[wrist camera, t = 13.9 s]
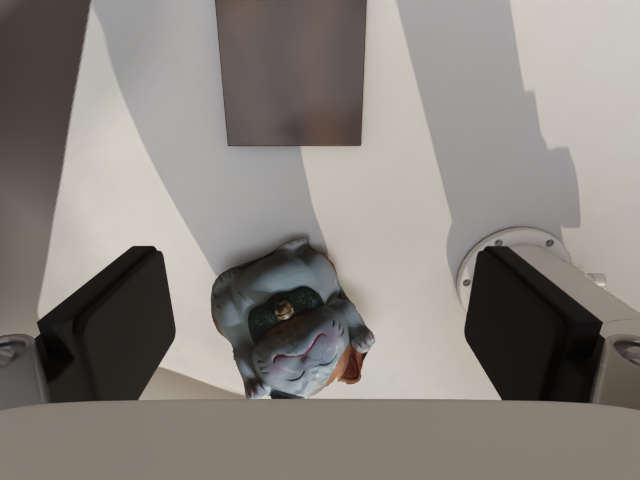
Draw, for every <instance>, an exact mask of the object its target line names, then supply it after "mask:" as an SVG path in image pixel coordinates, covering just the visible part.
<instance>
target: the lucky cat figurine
mask: <svg viewBox="0 0 640 480" xmlns="http://www.w3.org/2000/svg"><path fill="white" fill-rule="evenodd" d="M355 309H356V307H355V305H354V304H353V303H352V302H351V301H350V300H349V299H348V297H347V296H346V294H345V293H344V291H343V289H342V287H341V285H340V283H339V280H338V277H337V273H336V270H335V267H334V265H333V263H332V262H331V261H330V260H329V259H328V258H327V257H326V256H325V254H324V253H318V252H316V251H315V250H314V249H312V248H311V247H310V246H309V244H308V239H305V238H303V239H299V240H293V241H289V242H287V243H286V244H283V245H282V246H281V247H279V248H278V249H276V250H275V251H274V252H272V253H270V254H268V255H266V256H264V257H262V258H259V259H256V260H254V261H251V262H248V263H245V264H242V265H240V266H236V267H233V268H230V269H229V270H227V271H225V272H223V273H222V274H220V275H219V277H218V278H217V279H216V280H215V283H214V284H213V287H212V293H211V312H212V318H213V321H214V323H215V326H216V328H217V330H218V332H219V333H220V334H221V335H223V336H224V337H225V338H226V339H227V340H229V342H230V343H231V344H232V347H233V353H234V360H235V361H236V364H237V367H238V369H239V371H240V374H241V376H242V379H243V381H244V387H245V394H246V398H247V399H260V398H262V397H265V396H271V399H308V398H309V397H311V396H312V395H315V394H317V393H318V392H320V391H321V390H322V389H323V388H325V387H326V386H328V385H329V384H330V383H331V382H333V381H334V380H335V379H336V378H339V379H338V381H341V382H346V383H347V384H354V383H357V382H358V381H359V380H360V378H361V369H362V364H363V360H364V358H365V356H366V354H367V353H368V351H369V349H370V348H371V347H372V345H373V344H374V343H375V339H374V335H373V333H372V332H371V331H370V330H369V329H368V328H367V326H366V325H365V323H364V321H363V319H362V317H361V316H360V314H359V313H358V312H357V310H355ZM338 381H337V382H338Z"/></svg>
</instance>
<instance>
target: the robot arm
mask: <svg viewBox="0 0 640 480" xmlns="http://www.w3.org/2000/svg"><path fill="white" fill-rule="evenodd" d="M495 241H496V242H495ZM605 283H606V278H605V276H604V275H603V274H601V273H589V274H585V273H584V272H582V271H581V270H579V269H578V268H576V267H575V266H573V265H572V260H571V257H570V254H569V252H568V251H567V249H566V248H565V246H564V245H563V244H562V243H561V242H560V241H559V240H558V239H557V238H555V237H553V236H552V235H550V234H549V233H546V232H544V231H542V230H539V229H534V228H529V227H516V228H511V229H506V230H503V231H500V232H497V233H494V234H493V235H491V236H489V237H487V238H485V239H484V240H483V241H481V242H480V243H479V244H477V245H476V246H475V247H474V248H473V249H472V250H471V251H470V252H469V254H468V255H467V257H466V258H465V260H464V261H463V263H462V265H461V267H460V270H459V272H458V277H457V294H458V298H459V300H460V302H461V304H462V306H463V308H464V309H465V311H466V312H467V316H466V322H465V329H464V332H465V338H466V341H467V342H468V344H469V346H470V347H471V349H472V351H473V352H474V354H475V356H476V357H477V359H478V361H479V362H480V364H481V366H482V367H483V369H484V371H485V372H486V374H487V376H488V377H489V379H490V381H491V382H492V384H493V386H494V387H495V389H496V391H497V392H498V394H499V396H500V397H501V399H502V400H454V399H187V400H138V399H139V397H140V396H141V394H142V392H143V391H144V389H145V387H146V386H147V384H148V382H149V381H150V379H151V377H152V376H153V374H154V372H155V371H156V369H157V367H158V366H159V364H160V362H161V361H162V359H163V357H164V356H165V354H166V352H167V351H168V349H169V347H170V346H171V344H172V342H173V341H174V338H175V332H176V329H175V322H174V316H173V310H172V304H171V298H170V293H169V287H168V281H167V275H166V269H165V263H164V257H163V254H162V252H161V251H157V250H156V248H155V247H154V246H133V247H131V248H130V249H128V250H127V251H126V252H125V253H123V254H122V255H121V256H120V257H118V258H117V259H116V260H115V261H113V262H112V263H111V264H110V265H108V266H107V267H106V268H105V269H103V270H102V271H101V272H99V273H98V274H97V275H96V276H94V277H93V278H92V279H91V280H89V281H88V282H87V283H86V284H84V285H83V286H82V287H81V288H79V289H78V290H77V291H76V292H74V293H73V294H72V295H71V296H69V297H68V298H67V299H66V300H64V301H63V302H62V303H60V304H59V305H58V306H57V307H55V308H54V309H53V310H52V311H50V312H49V313H48V314H47V315H45V316H44V317H43V318H42V319H40V320H39V321H38V322H37V324H38V327H39V331H40V335H38V336H37V337H36V338H35V339H34V338H33V337H32V336H29V335H26V334H11V335H4V336H0V480H640V313H639V312H637V311H636V310H634V309H633V308H631V307H630V306H628V305H627V304H625V303H624V302H622V301H621V300H620V299H618V298H617V297H615V296H614V295H612V294H611V293H609V292H608V291H606V290H605V289H603V288H602V287H600V286H604V285H605Z"/></svg>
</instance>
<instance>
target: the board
mask: <svg viewBox="0 0 640 480" xmlns="http://www.w3.org/2000/svg"><path fill="white" fill-rule="evenodd" d="M366 3H367V0H215V5H216V16H217V28H218V39H219V50H220V62H221V73H222V84H223V95H224V107H225V118H226V129H227V141H228V146H361V131H362V105H363V80H364V54H365V29H366Z"/></svg>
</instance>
